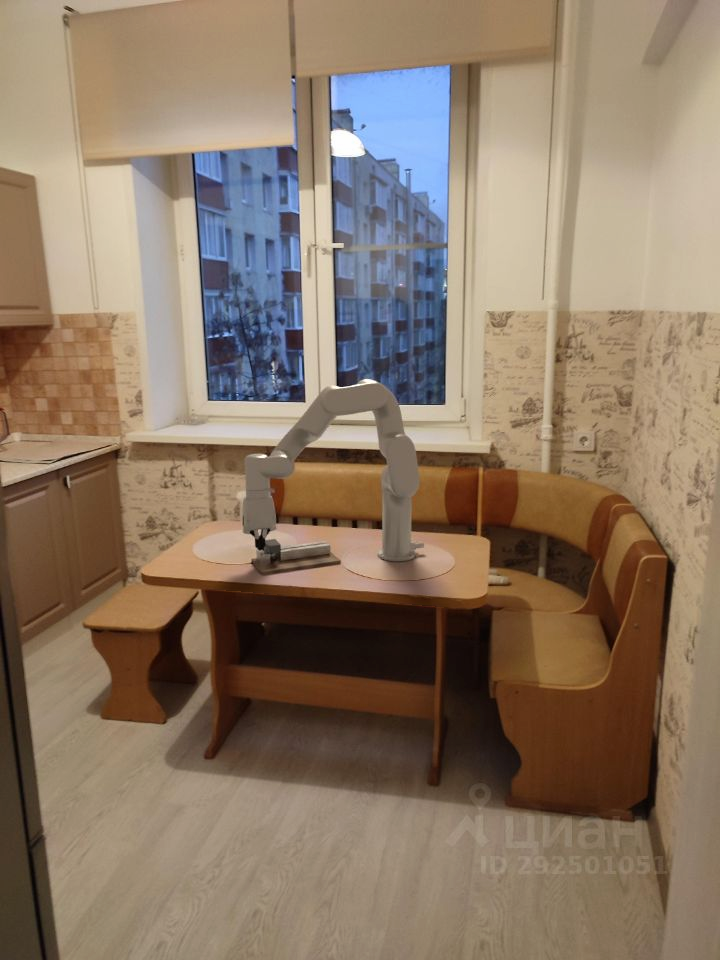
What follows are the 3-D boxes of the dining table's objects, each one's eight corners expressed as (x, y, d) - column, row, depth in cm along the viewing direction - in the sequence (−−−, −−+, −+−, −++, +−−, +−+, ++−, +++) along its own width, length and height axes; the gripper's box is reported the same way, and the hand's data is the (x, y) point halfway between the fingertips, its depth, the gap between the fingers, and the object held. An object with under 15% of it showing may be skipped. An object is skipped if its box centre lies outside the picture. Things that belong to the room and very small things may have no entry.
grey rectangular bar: (326, 550, 223) (326, 541, 223) (330, 553, 220) (330, 545, 219) (268, 558, 216) (267, 549, 215) (271, 562, 212) (270, 553, 212)
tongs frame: (324, 549, 225) (324, 540, 224) (331, 555, 220) (331, 545, 219) (256, 559, 216) (256, 549, 215) (261, 565, 211) (261, 555, 210)
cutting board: (326, 551, 226) (326, 548, 226) (340, 563, 215) (340, 560, 215) (251, 561, 217) (251, 558, 216) (261, 575, 205) (261, 572, 205)
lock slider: (275, 545, 218) (275, 538, 217) (280, 551, 212) (280, 544, 212) (263, 547, 216) (263, 540, 216) (268, 553, 211) (268, 546, 210)
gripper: (277, 488, 215) (279, 542, 219) (231, 493, 209) (234, 548, 213) (284, 493, 208) (286, 549, 212) (237, 498, 202) (239, 556, 206)
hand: (260, 549), depth 213 cm, fingers closed
